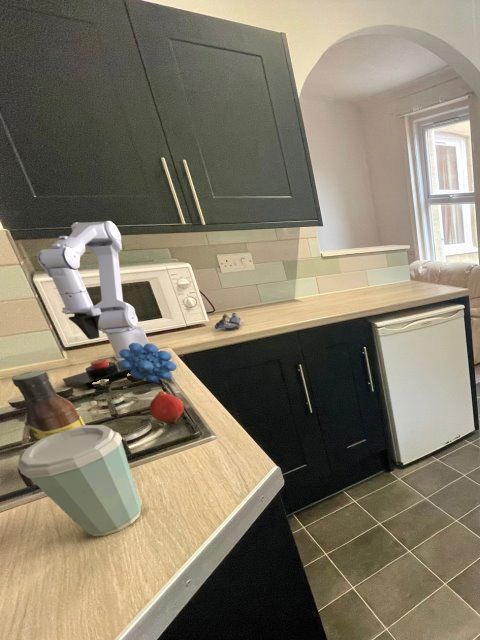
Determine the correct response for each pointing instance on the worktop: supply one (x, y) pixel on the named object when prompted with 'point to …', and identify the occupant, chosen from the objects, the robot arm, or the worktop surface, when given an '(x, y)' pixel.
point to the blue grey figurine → (229, 322)
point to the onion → (166, 407)
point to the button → (99, 364)
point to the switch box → (97, 376)
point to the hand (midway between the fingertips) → (94, 338)
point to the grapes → (147, 362)
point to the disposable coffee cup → (85, 477)
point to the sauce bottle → (45, 405)
